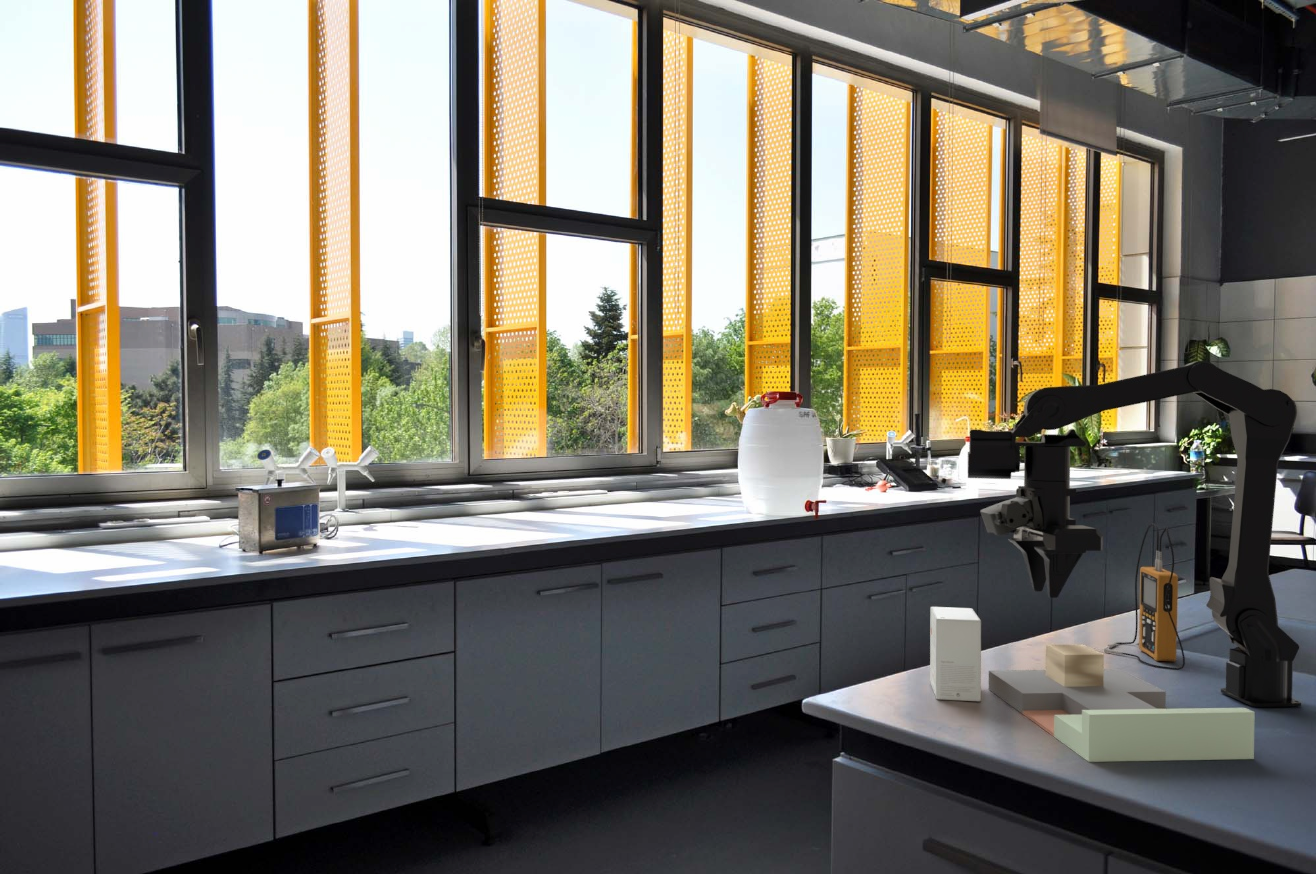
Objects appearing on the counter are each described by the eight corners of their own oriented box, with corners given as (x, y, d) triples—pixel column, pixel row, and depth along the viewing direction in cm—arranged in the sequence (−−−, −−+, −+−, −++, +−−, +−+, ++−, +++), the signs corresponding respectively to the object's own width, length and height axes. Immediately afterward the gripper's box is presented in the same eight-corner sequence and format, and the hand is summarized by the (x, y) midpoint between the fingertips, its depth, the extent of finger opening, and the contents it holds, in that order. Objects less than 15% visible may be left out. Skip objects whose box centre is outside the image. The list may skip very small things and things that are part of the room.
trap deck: (1120, 687, 123) (1120, 650, 123) (1253, 758, 98) (1254, 712, 97) (988, 689, 122) (988, 651, 122) (1088, 761, 97) (1089, 714, 96)
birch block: (1082, 674, 120) (1083, 644, 120) (1103, 686, 115) (1103, 654, 115) (1045, 675, 120) (1045, 644, 120) (1064, 686, 115) (1064, 654, 115)
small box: (981, 703, 116) (982, 620, 116) (935, 700, 117) (935, 618, 117) (972, 685, 124) (973, 607, 124) (929, 682, 125) (930, 605, 125)
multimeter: (1082, 642, 148) (1083, 518, 147) (1148, 645, 146) (1150, 519, 146) (1114, 667, 133) (1116, 529, 132) (1188, 670, 132) (1190, 531, 131)
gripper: (962, 475, 134) (961, 582, 134) (1019, 485, 115) (1017, 609, 115) (1037, 475, 134) (1035, 581, 135) (1105, 485, 116) (1104, 608, 116)
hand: (1045, 594), depth 125 cm, fingers open, 4 cm apart
